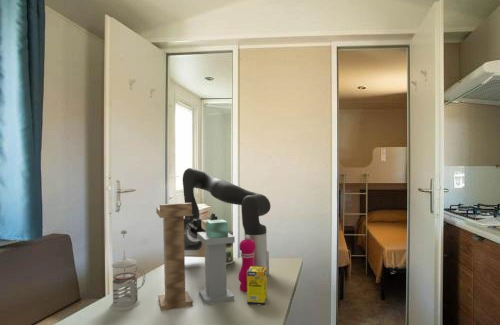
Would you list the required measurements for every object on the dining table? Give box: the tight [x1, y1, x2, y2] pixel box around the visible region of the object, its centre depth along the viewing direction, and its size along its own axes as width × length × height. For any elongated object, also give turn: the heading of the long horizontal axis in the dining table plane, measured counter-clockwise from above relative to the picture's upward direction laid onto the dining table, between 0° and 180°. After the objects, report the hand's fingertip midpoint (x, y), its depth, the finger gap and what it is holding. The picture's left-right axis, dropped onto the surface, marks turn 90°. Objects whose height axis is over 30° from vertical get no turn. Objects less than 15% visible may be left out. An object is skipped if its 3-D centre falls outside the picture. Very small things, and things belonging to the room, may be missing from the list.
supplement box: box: [246, 266, 268, 306], centre depth 117 cm, size 6×6×11 cm
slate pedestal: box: [197, 232, 236, 306], centre depth 121 cm, size 10×13×22 cm
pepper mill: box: [237, 235, 256, 293], centre depth 129 cm, size 7×7×20 cm
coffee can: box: [226, 230, 234, 266], centre depth 166 cm, size 10×10×14 cm
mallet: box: [201, 219, 229, 239], centre depth 125 cm, size 6×21×5 cm, turn 20°
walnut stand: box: [155, 202, 194, 311], centre depth 117 cm, size 10×13×34 cm
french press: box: [109, 229, 146, 311], centre depth 117 cm, size 10×12×25 cm
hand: (203, 216), depth 139 cm, fingers open, 8 cm apart
